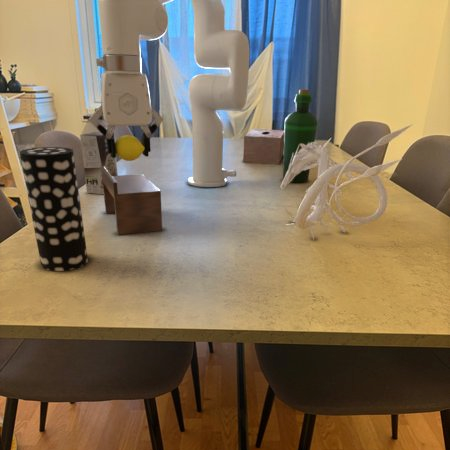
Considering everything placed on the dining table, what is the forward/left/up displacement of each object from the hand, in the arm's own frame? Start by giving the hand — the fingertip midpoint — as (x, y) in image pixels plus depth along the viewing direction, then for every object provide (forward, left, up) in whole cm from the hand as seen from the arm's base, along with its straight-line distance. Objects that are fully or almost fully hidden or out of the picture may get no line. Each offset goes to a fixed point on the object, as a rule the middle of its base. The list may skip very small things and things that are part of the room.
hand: (129, 155), depth 97 cm
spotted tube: (+17, +21, -15) cm, 31 cm away
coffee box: (+3, -32, -15) cm, 36 cm away
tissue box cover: (-71, -70, -15) cm, 101 cm away
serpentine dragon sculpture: (-40, +23, -15) cm, 49 cm away
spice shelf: (0, 0, -15) cm, 15 cm away
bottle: (-61, -27, -15) cm, 68 cm away
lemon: (0, 0, -1) cm, 1 cm away
